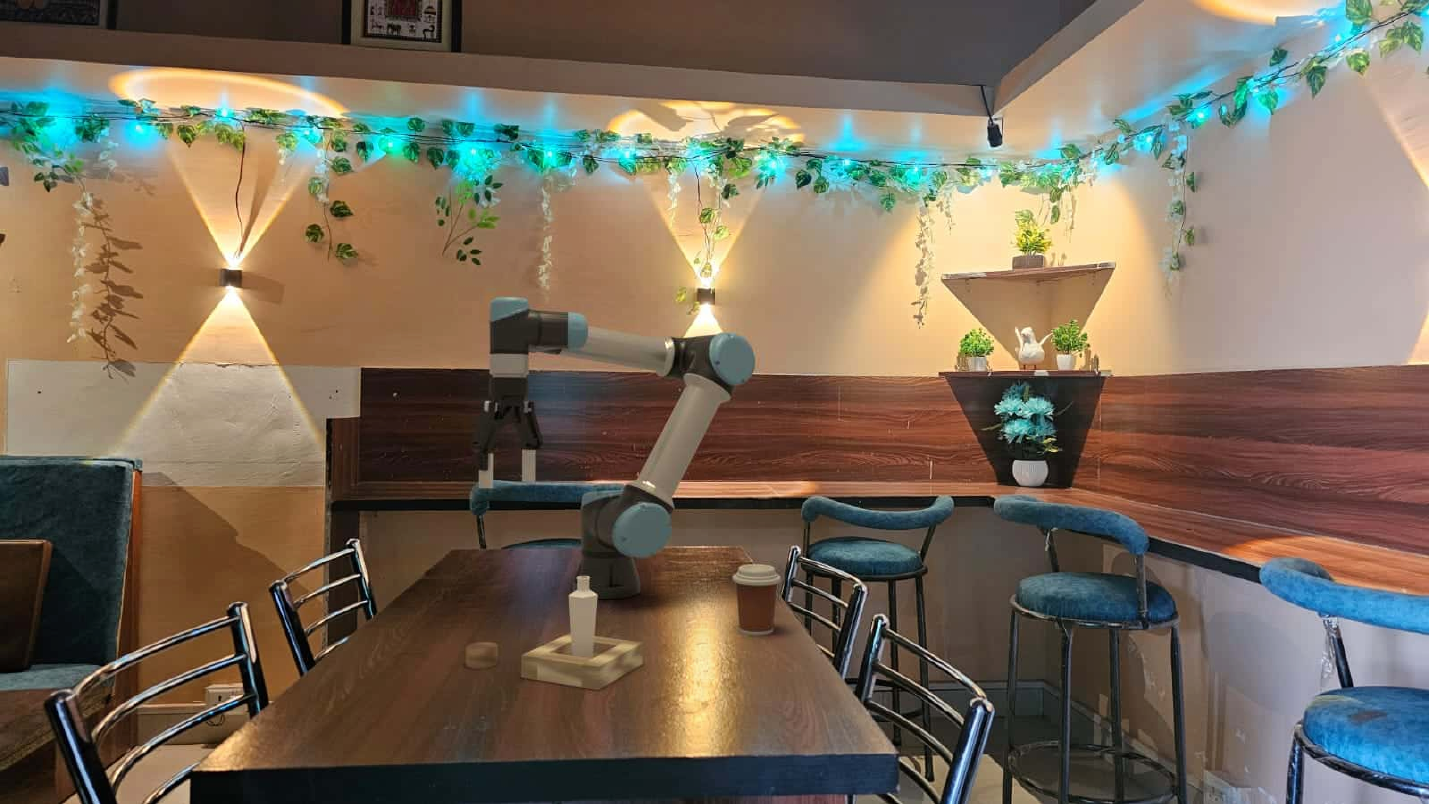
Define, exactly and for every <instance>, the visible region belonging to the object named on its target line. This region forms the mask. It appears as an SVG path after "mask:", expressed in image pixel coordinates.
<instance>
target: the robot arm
mask: <svg viewBox="0 0 1429 804" xmlns="http://www.w3.org/2000/svg"><path fill="white" fill-rule="evenodd" d="M488 323H489V374H490V375H491V376H492V377H490V378H489V380H488V381H489V382H488V395H489V396H490V397H493V400H483V401H481V406H480V413H479V416H478V420H477V423H476V426H475V429H474V432H473V436H472V438H471V441H470V443H469V449H470V451H472V453H474V454H477V470H478V488H479V489H493V488H494V453H490V452H491V450H492V449H493V447H494V445H495V443H496V441H497V440H498V438H499V435H500V434H501V432H502V430H503V428H504V427H506V426H507V425H511V426H513V428H514V429H515V431H516V433H517V434H518V437H519V438H520V440H521V443H522V444H523V446H524V448H525V449H522V451H521V454H522V456H521V461H522V462H521V482H522V483H536V464H537V450H538V451H539V450H541V448H542V446H543V445H544V440H543V437H542V433H541V430H540V426H539V422H538V418H537V415H536V412H535V402H534V401H532V400H531V401H528V400H527V401H525V400H524V399H525V398H526V397H527V396H529V379H528V378H527V376H528V375H529V374H530V369H529V367H530V365H529V364H530V361H529V360H530V358H529V357H530V356H529V355H530V353H531V354H535V353H540V354H541V353H542V354H547V355H554V356H555V355H557V356H563V357H567V358H574V359H580V360H586V361H592V362H597V363H605V364H610V365H617V366H623V367H629V368H633V369H634V368H635V369H641V370H646V371H653V372H655V373H656V375H657V376H658V377H662V378H669V379H672V380H677V381H679V382H680V381H681V382H684V384H685V388H684V389H683V391H682V393H681V395H680V397H679V398H678V401H677V402H676V404H675V406H674V408H673V410H672V412H671V414H670V416H669V417H668V420H667V422H666V424H665V425H664V427H663V430H662V431H661V433H660V435H659V437H658V438H657V440H656V443H655V444H654V446H653V448H652V451H650V454H649V456H648V458H647V459H646V462H645V463H644V465H643V467H642V470H641V471H640V473H639V475H638V477H637V479H636V480H633V481H630V482H627V483H626V484H625V486H624V488H623V489H621V490H619V489H618V490H617V489H616V490H602V491H601V490H600V491H589V492H586V493H584V494H583V495H582V498H581V506H580V512H581V513H580V515H581V516H580V519H581V522H580V523H581V525H580V526H581V527H580V529H581V530H580V532H581V534H580V537H581V538H580V542H581V543H580V544H581V547H580V549H581V554H580V560H579V561H580V562H579V564H578V568H577V570H576V573H575V576H574V580H573V584H572V593H573V592H575V591H576V590H577V577H579V576H589V577H590V579H589V590H591V591H593V592H594V593H596V594H597V595H598V596H597V600H613V599H624V598H629V597H633V596H636V595H638V594H640V593H641V579H640V577H639V574H638V570H637V567H636V564H635V560H634V558H637V559H639V558H640V559H643V558H644V559H645V558H649V557H652V556H654V555H656V554H659V552H661V551H662V550H663V549H664V548H665V546H667V544H668V542H669V541H670V538H671V535H672V531H673V528H672V527H673V526H672V519H671V516H672V514H673V512H674V511H675V505H674V502H673V497H674V494H675V493H676V491H677V489H678V487H679V485H680V483H681V481H682V479H683V477H684V475H685V473H686V472H687V469H688V467H689V465H690V463H691V461H692V459H693V458H694V456H695V454H696V451H697V450H698V447H699V446H700V443H702V440H703V438H704V436H705V434H706V432H707V430H708V428H709V426H710V424H711V422H712V420H713V418H714V416H715V414H716V413H717V412H718V411H717V410H718V408H719V407H720V405H721V404H723V403H726V402H729V401H730V400H731V398H732V396H733V394H734V393H735V390H736V388H737V386H741V385H743V384H744V383H746V382H748V381H749V380H750V379H751V378H752V376H753V374H754V371H755V368H756V356H755V354H754V349H753V347H752V345H751V344H750V343H749V341H748V340H747V339H746V338H745V337H743V336H742V335H740V334H738V333H733V332H723V331H722V332H719V333H717V334H706V335H698V336H689V337H674V336H667V335H665V336H663V337H662V338H661V339H660V338H655V337H651V336H650V337H648V336H643V335H640V334H639V335H638V334H633V333H628V332H623V331H619V330H618V331H616V330H612V329H606V328H602V327H596V326H590V325H589V324H588V321H587V318H586V317H585V315H583V314H582V313H578V312H571V311H554V310H553V311H552V310H551V311H550V310H538V309H537V310H536V309H534V308H532V309H531V307H530V302H529V300H528V299H526V298H524V297H523V298H521V297H515V296H505V297H504V296H499V297H496V298H494V299H492V301H491V302H490V309H489V319H488Z"/></svg>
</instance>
